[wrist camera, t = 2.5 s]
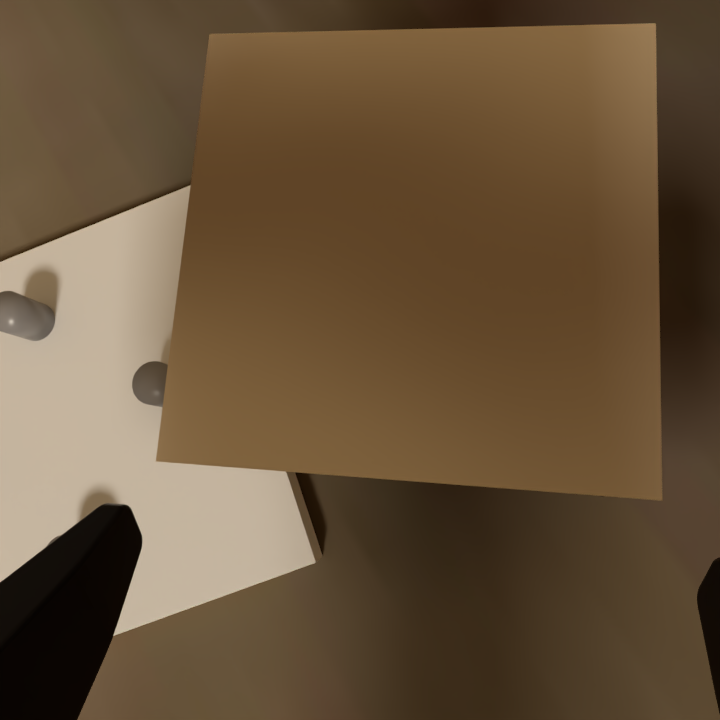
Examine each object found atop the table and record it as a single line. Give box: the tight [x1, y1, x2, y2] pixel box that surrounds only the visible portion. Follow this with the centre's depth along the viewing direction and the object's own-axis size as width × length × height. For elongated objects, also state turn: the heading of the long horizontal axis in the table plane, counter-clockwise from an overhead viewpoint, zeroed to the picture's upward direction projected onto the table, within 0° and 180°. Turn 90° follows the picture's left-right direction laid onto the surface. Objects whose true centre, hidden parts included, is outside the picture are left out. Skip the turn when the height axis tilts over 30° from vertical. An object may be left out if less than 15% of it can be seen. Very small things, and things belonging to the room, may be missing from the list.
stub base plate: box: [0, 185, 323, 636], centre depth 20 cm, size 14×14×3 cm
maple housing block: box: [156, 23, 662, 501], centre depth 13 cm, size 5×5×14 cm
